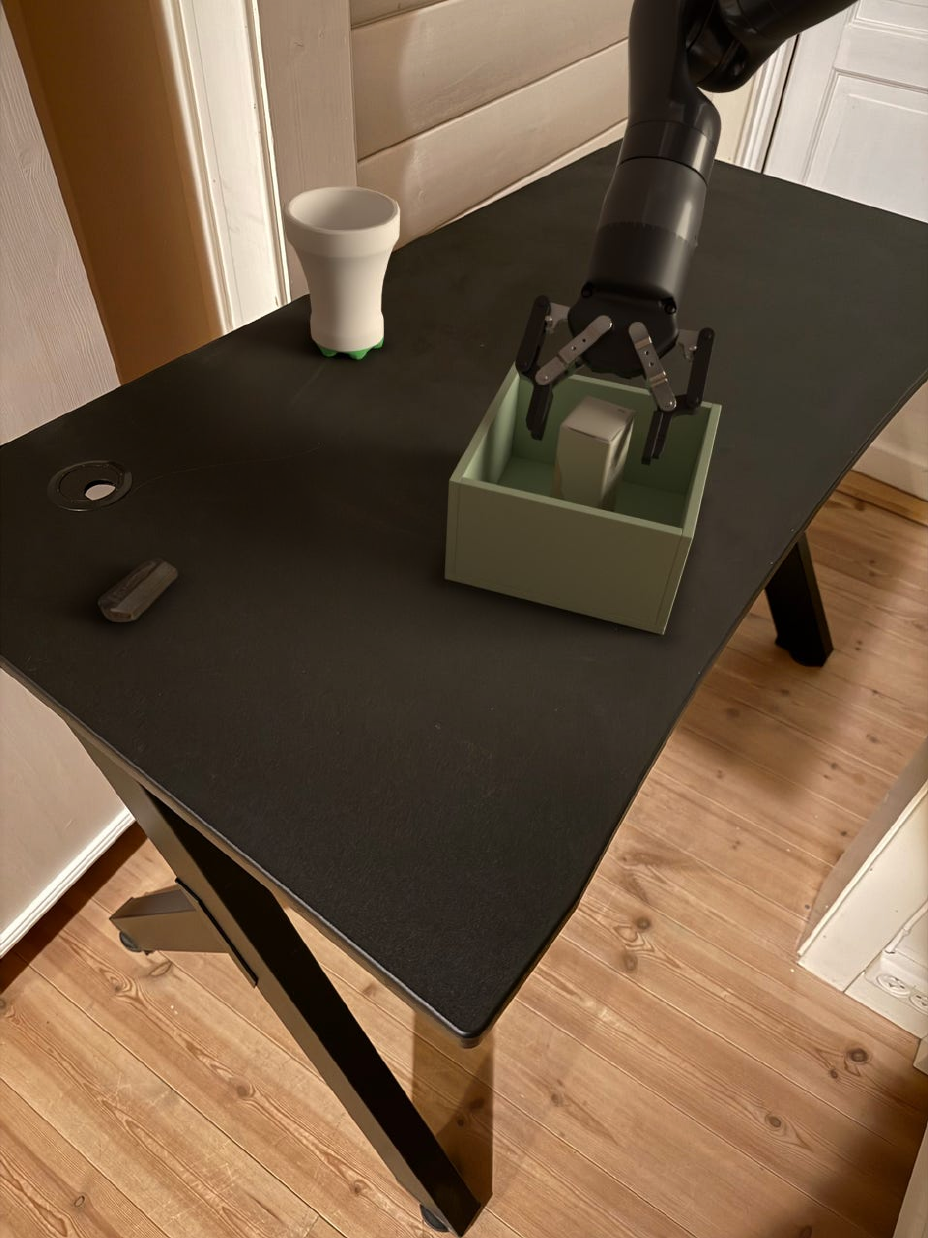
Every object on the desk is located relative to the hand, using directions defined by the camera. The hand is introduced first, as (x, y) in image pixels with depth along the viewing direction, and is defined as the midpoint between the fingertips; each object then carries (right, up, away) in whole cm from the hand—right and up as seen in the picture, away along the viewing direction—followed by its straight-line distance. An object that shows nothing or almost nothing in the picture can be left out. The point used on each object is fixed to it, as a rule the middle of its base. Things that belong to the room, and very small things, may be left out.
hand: (590, 450), depth 69 cm
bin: (0, -6, +8) cm, 10 cm away
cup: (-22, +16, +28) cm, 39 cm away
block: (-34, -11, 0) cm, 36 cm away
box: (0, -5, +7) cm, 9 cm away
